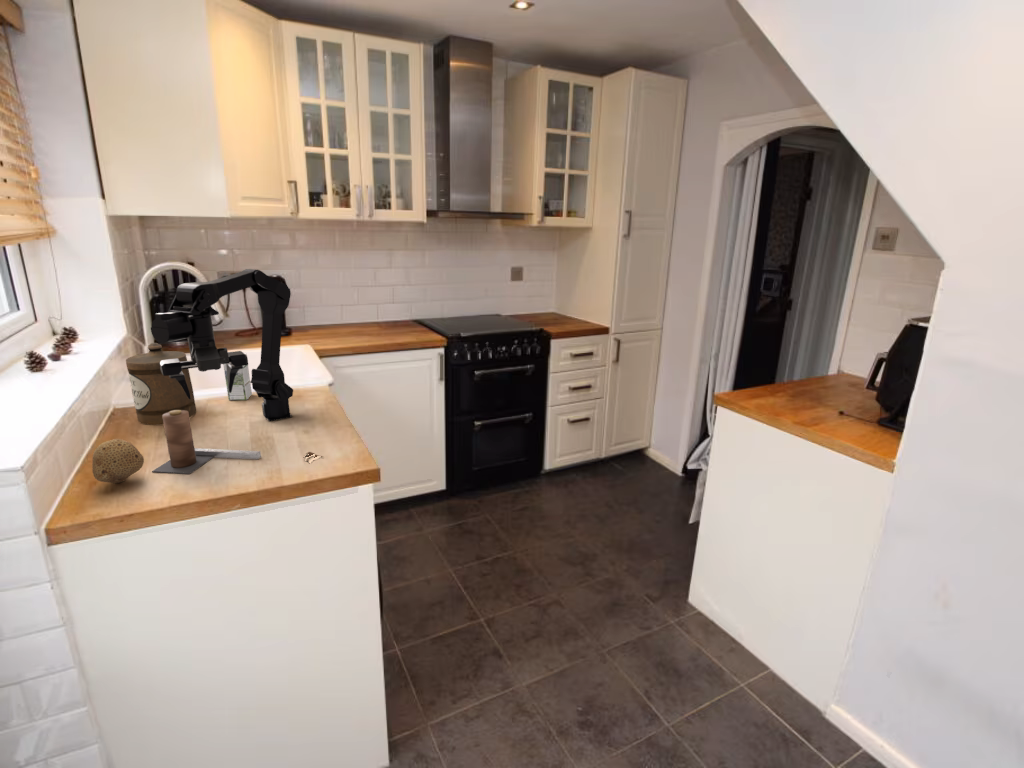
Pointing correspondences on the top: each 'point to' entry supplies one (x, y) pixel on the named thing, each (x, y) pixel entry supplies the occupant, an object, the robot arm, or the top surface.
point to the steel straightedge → (228, 453)
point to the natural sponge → (116, 461)
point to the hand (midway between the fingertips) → (210, 395)
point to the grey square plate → (184, 470)
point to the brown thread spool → (179, 438)
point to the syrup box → (240, 384)
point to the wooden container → (157, 386)
